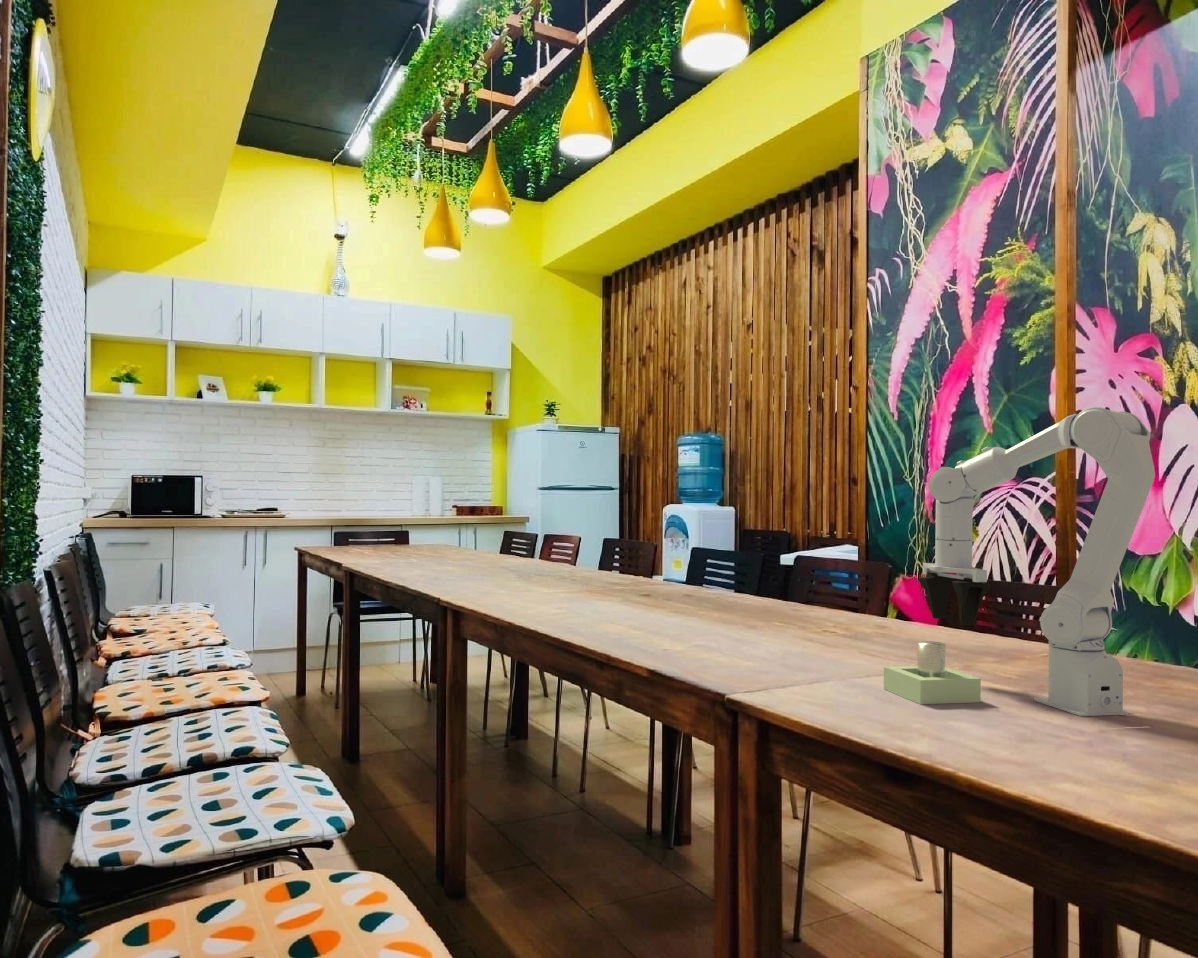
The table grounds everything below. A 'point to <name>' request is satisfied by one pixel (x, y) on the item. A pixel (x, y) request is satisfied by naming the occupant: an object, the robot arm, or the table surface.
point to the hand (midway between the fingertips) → (952, 621)
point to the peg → (931, 659)
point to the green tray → (932, 686)
